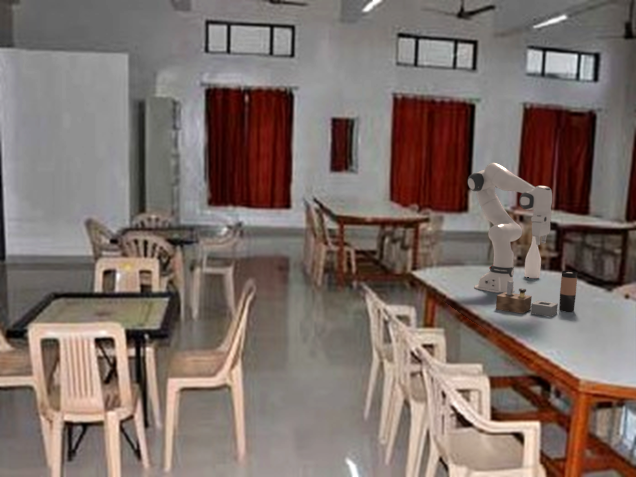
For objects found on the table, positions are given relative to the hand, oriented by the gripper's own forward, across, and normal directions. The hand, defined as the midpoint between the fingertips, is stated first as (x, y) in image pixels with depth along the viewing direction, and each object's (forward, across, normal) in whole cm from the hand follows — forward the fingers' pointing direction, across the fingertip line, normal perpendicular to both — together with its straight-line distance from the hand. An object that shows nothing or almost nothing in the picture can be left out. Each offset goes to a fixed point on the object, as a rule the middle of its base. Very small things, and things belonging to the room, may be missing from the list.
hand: (540, 243), depth 368 cm
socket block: (+33, +17, -7) cm, 37 cm away
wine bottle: (+32, -81, -28) cm, 92 cm away
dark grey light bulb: (+30, +17, -3) cm, 34 cm away
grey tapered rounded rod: (+32, +17, -10) cm, 38 cm away
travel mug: (+33, 0, +15) cm, 37 cm away
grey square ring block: (+33, +15, +8) cm, 37 cm away
